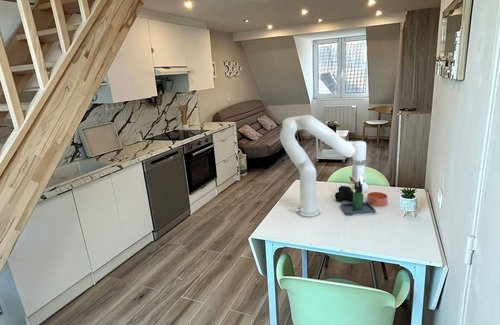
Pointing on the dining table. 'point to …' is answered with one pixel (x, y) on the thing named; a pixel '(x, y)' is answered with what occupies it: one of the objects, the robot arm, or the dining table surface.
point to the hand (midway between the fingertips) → (358, 191)
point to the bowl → (377, 199)
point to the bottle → (357, 200)
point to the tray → (349, 211)
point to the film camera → (344, 194)
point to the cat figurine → (364, 186)
